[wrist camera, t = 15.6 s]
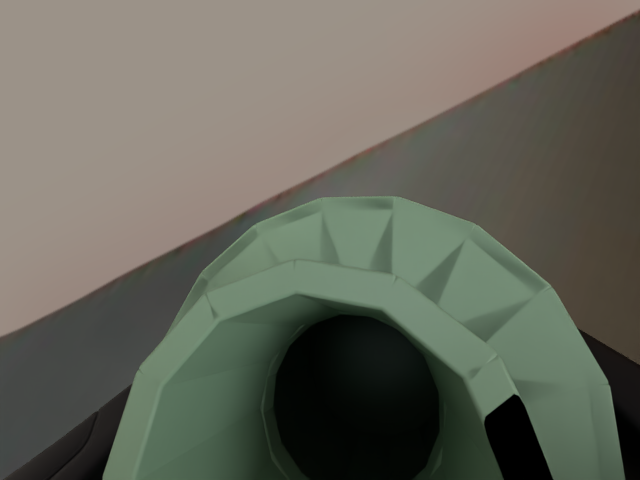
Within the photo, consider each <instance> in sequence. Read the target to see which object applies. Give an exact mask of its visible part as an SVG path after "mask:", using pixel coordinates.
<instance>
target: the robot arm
mask: <svg viewBox="0 0 640 480" xmlns="http://www.w3.org/2000/svg"><path fill="white" fill-rule="evenodd" d="M577 329H578V328H577ZM578 331H579V333H580V334H581V336H582V338H583V339H584V341H585V343H586V344H587V346H588V348H589V350H590V351H591V353H592V355H593V356H594V358H595V360H596V361H597V363H598V365H599V367H600V368H601V370H602V372H603V373H604V375H605V377H606V378H607V380H608V384H609V386H610V388H611V394H612V401H613V407H614V413H615V419H616V425H617V431H618V437H619V444H620V450H621V456H622V462H623V468H624V474H625V480H640V365H639V364H637V363H635V362H633V361H632V360H630V359H628V358H627V357H625V356H623V355H622V354H620V353H618V352H617V351H615V350H613V349H612V348H610V347H608V346H607V345H605V344H603V343H602V342H600V341H598V340H597V339H595V338H593V337H592V336H590V335H588V334H587V333H585V332H583V331H581V330H580V329H578ZM132 384H133V383H132ZM132 384H131V385H130V386H128V387H127V388H126V389H125V390H123V391H122V392H121V393H119V394H118V395H117V396H116V397H114V398H113V399H112V400H110V401H109V402H108V403H106V404H105V405H104V406H103V407H101V408H100V409H99V412H98V411H97V412H95V413H93V414H92V415H91V416H90V417H88V418H87V419H86V420H84V421H83V422H82V423H81V424H79V425H78V426H77V427H75V428H74V429H73V430H71V431H70V432H69V433H67V434H66V435H65V436H63V437H62V438H61V439H59V440H58V441H57V442H55V443H54V444H53V445H51V446H50V447H49V448H47V449H46V450H44V451H43V452H42V453H40V454H39V455H37V456H36V457H35V458H33V459H32V460H30V461H29V462H28V463H26V464H25V465H23V466H22V467H21V468H19V469H18V470H16V471H15V472H13V473H12V474H11V475H9V476H8V477H6V478H5V479H3V480H103V474H104V471H105V468H106V465H107V462H108V459H109V455H110V452H111V449H112V446H113V443H114V440H115V437H116V434H117V431H118V427H119V424H120V421H121V418H122V415H123V412H124V409H125V406H126V403H127V400H128V396H129V393H130V390H131V387H132Z"/></svg>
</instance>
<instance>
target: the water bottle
mask: <svg viewBox="0 0 640 480" xmlns="http://www.w3.org/2000/svg"><path fill="white" fill-rule="evenodd" d="M103 480H625V474H624V468H623V462H622V456H621V450H620V444H619V437H618V431H617V425H616V419H615V413H614V407H613V401H612V394H611V388H610V386H609V384H608V380H607V378H606V377H605V375H604V373H603V372H602V370H601V368H600V367H599V365H598V363H597V361H596V360H595V358H594V356H593V355H592V353H591V351H590V350H589V348H588V346H587V344H586V343H585V341H584V339H583V338H582V336H581V334H580V333H579V331H578V329H577V327H576V326H575V324H574V322H573V321H572V319H571V317H570V316H569V314H568V312H567V311H566V309H565V307H564V305H563V304H562V302H561V300H560V299H559V297H558V295H557V294H556V292H555V290H554V289H553V288H552V287H551V285H550V284H549V283H547V282H546V281H545V280H544V279H543V278H541V277H540V276H539V275H538V274H537V273H535V272H534V271H533V270H532V269H530V268H529V267H528V266H527V265H526V264H524V263H523V262H522V261H521V260H520V259H518V258H517V257H516V256H515V255H513V254H512V253H511V252H510V251H509V250H507V249H506V248H505V247H504V246H503V245H501V244H500V243H499V242H498V241H496V240H495V239H494V238H493V237H492V236H490V235H489V234H488V233H487V232H486V231H484V230H483V229H482V228H481V227H479V226H478V225H475V224H474V223H472V222H469V221H466V220H463V219H461V218H458V217H455V216H452V215H449V214H446V213H444V212H441V211H438V210H435V209H432V208H429V207H427V206H424V205H421V204H418V203H415V202H412V201H409V200H407V199H404V198H401V197H396V196H369V197H323V198H318V199H316V200H313V201H311V202H308V203H306V204H303V205H301V206H298V207H296V208H293V209H291V210H288V211H286V212H283V213H281V214H278V215H276V216H273V217H271V218H268V219H266V220H263V221H261V222H259V223H256V224H255V225H253V226H252V227H251V228H250V229H248V230H247V231H246V232H245V233H244V234H243V235H242V236H241V237H240V238H238V239H237V240H236V241H235V242H234V243H233V244H232V245H231V246H230V247H228V248H227V249H226V250H225V251H224V252H223V253H222V254H221V255H220V256H218V257H217V258H216V259H215V260H214V261H213V262H212V263H211V264H210V265H208V266H207V267H206V268H205V269H204V270H203V271H202V273H201V274H200V275H199V276H198V278H197V280H196V282H195V284H194V285H193V287H192V289H191V291H190V293H189V294H188V296H187V298H186V300H185V302H184V303H183V305H182V307H181V309H180V311H179V312H178V314H177V316H176V318H175V320H174V321H173V323H172V325H171V327H170V329H169V330H168V332H167V334H166V336H165V338H164V339H163V340H162V342H161V343H160V344H159V345H158V346H157V347H156V348H155V349H154V351H153V352H152V353H151V354H150V355H149V356H148V357H147V359H146V360H145V361H144V362H143V363H142V364H141V365H140V367H139V370H138V371H137V372H136V375H135V378H134V381H133V384H132V387H131V390H130V393H129V396H128V400H127V403H126V406H125V409H124V412H123V415H122V418H121V421H120V424H119V427H118V431H117V434H116V437H115V440H114V443H113V446H112V449H111V452H110V455H109V459H108V462H107V465H106V468H105V471H104V474H103Z"/></svg>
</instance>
